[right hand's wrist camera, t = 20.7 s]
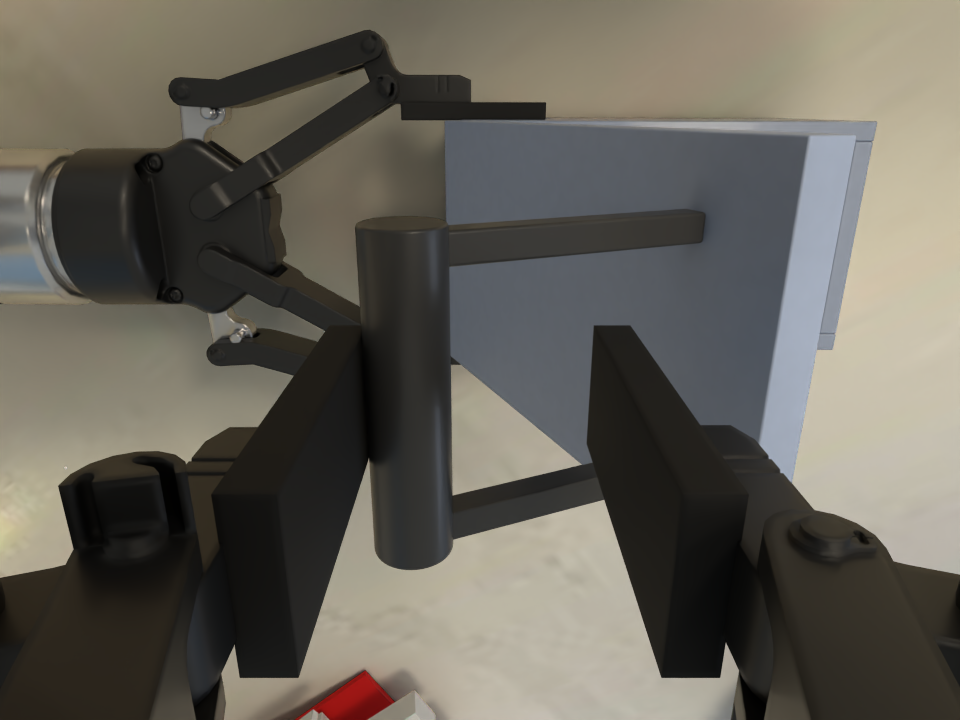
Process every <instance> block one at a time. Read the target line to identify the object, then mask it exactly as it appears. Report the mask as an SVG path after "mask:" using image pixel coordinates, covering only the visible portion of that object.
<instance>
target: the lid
mask: <svg viewBox="0 0 960 720" xmlns="http://www.w3.org/2000/svg"><path fill="white" fill-rule="evenodd" d="M855 141H856V135H854V134H832V133H805V132H777V131H749V130H722V129H694V128H667V127H639V126H611V125H584V124H556V123H529V122H501V121H473V120H455V121H445V178H446V221H444V220H441V219H437V218H430V217H418V216H394V217H380V218H372V219H367V220H363V221H361V222H358V223H357V224H356V226H355V233H356V249H357V265H358V282H359V298H360V315H361V331H362V347H363V364H364V380H365V397H366V413H367V429H368V446H369V462H370V479H371V495H372V511H373V528H374V544H375V552H376V554H377V556H378V557H379V559H380V560H381V561H382V562H384V563H385V564H387V565H389V566H391V567H394V568H398V569H403V570H418V569H424V568H428V567H431V566H434V565H436V564H438V563H440V562H441V561H443V560H444V559H445V558H446V557H447V556H448V555H449V554H450V552H451V550H452V547H453V539H457V538H461V537H465V536H468V535H472V534H476V533H480V532H484V531H487V530H491V529H495V528H499V527H502V526H506V525H510V524H514V523H518V522H521V521H525V520H529V519H533V518H536V517H540V516H544V515H548V514H552V513H555V512H559V511H563V510H567V509H570V508H574V507H578V506H582V505H586V504H589V503H593V502H597V501H601V500H604V497H603V494H602V490H601V487H600V484H599V481H598V478H597V475H596V472H595V469H594V465H593V462H592V459H591V456H590V453H589V450H588V447H587V427H588V411H589V394H590V378H591V361H592V345H593V328H594V325H630V326H631V327H632V328H633V330H634V331H635V333H636V334H637V336H638V337H639V338H640V340H641V341H642V343H643V344H644V345H645V347H646V348H647V350H648V351H649V353H650V354H651V355H652V357H653V358H654V360H655V361H656V363H657V364H658V365H659V367H660V368H661V370H662V371H663V373H664V374H665V375H666V377H667V378H668V380H669V381H670V383H671V384H672V385H673V387H674V388H675V390H676V391H677V392H678V394H679V395H680V397H681V398H682V400H683V401H684V402H685V404H686V405H687V407H688V408H689V410H690V411H691V412H692V414H693V415H694V417H695V418H696V420H697V421H698V422H699V424H700V425H731V426H733V427H735V428H736V429H738V430H740V431H742V432H743V433H745V434H747V435H748V436H750V437H752V438H754V439H755V440H756V441H757V442H758V444H759V445H760V446H761V447H762V448H763V450H764V451H765V452H766V453H767V454H768V456H769V459H772V460H773V461H774V463H775V464H776V465H777V466H778V467H779V469H780V473H784V475H785V476H786V477H787V478H788V479H789V481H790V482H791V483H792V479H793V474H794V469H795V463H796V458H797V452H798V447H799V442H800V436H801V431H802V426H803V420H804V415H805V409H806V404H807V399H808V393H809V388H810V383H811V377H812V372H813V366H814V361H815V356H816V350H817V345H818V340H819V334H820V329H821V323H822V318H823V313H824V307H825V302H826V297H827V291H828V286H829V280H830V275H831V270H832V264H833V259H834V254H835V248H836V243H837V237H838V232H839V227H840V221H841V216H842V211H843V205H844V200H845V194H846V189H847V184H848V178H849V173H850V168H851V162H852V157H853V151H854V146H855ZM451 357H453V358H454V359H455V360H456V361H457V362H459V363H460V364H461V365H462V366H463V367H465V368H466V369H467V370H468V371H469V372H471V373H472V374H473V375H474V376H476V377H477V378H478V379H479V380H480V381H482V382H483V383H484V384H485V385H486V386H488V387H489V388H490V389H491V390H492V391H494V392H495V393H496V394H497V395H499V396H500V397H501V398H502V399H503V400H505V401H506V402H507V403H508V404H509V405H511V406H512V407H513V408H514V409H515V410H517V411H518V412H519V413H520V414H522V415H523V416H524V417H525V418H526V419H528V420H529V421H530V422H531V423H532V424H534V425H535V426H536V427H537V428H538V429H540V430H541V431H542V432H543V433H544V434H546V435H547V436H548V437H549V438H551V439H552V440H553V441H554V442H555V443H557V444H558V445H559V446H560V447H561V448H563V449H564V450H565V451H566V452H567V453H569V454H570V455H571V456H572V457H574V458H575V459H576V460H577V461H578V462H580V463H581V464H582V465H580V466H576V467H571V468H567V469H563V470H559V471H555V472H550V473H546V474H542V475H538V476H533V477H529V478H525V479H521V480H517V481H512V482H508V483H504V484H500V485H495V486H491V487H487V488H483V489H479V490H474V491H470V492H466V493H462V494H458V495H453V496H452V423H451Z"/></svg>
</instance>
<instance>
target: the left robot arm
mask: <svg viewBox="0 0 960 720" xmlns="http://www.w3.org/2000/svg"><path fill="white" fill-rule="evenodd" d="M364 68H365V70H366V73H367V75H368V78H369V81H370V82H369V83H368V84H366V85H365V86H363V87H362V88H360V89H358V90H357V91H355V92H354V93H352V94H351V95H349V96H348V97H346V98H345V99H343V100H342V101H340V102H339V103H337V104H336V105H334V106H333V107H331V108H330V109H328V110H327V111H325V112H323V113H322V114H320V115H319V116H317V117H316V118H314V119H313V120H311V121H310V122H308V123H307V124H305V125H304V126H302V127H301V128H299V129H298V130H296V131H295V132H293V133H292V134H290V135H288V136H287V137H285V138H284V139H282V140H281V141H279V142H278V143H276V144H275V145H273V146H272V147H270V148H269V149H267V150H265V151H263V152H261V153H259V154H258V155H256V156H254V157H253V158H251V159H250V160H248V161H247V162H245V163H244V162H242V161H241V160H240V159H238V158H237V157H235V156H234V155H232V154H231V153H229V152H228V151H227V150H225V149H224V148H222V147H221V146H219V145H218V144H216V143H215V142H213V141H212V140H211V134H212V131H213V130H214V129H215V128H216V127H218V126H222V125H225V124H227V123H228V122H229V121H230V119H231V116H232V110H231V108H242V107H248V106H252V105H256V104H259V103H262V102H265V101H268V100H271V99H274V98H277V97H280V96H283V95H286V94H289V93H292V92H295V91H298V90H301V89H304V88H307V87H310V86H313V85H316V84H319V83H322V82H325V81H328V80H331V79H334V78H337V77H340V76H343V75H346V74H349V73H352V72H355V71H358V70H361V69H364ZM168 92H169V95H170V98H171V99H172V100H173V102H175V103H176V104H177V105H180V113H181V124H182V135H183V140H181V141H179V142H177V143H176V144H174V145H173V146H171V147H168V148H163V149H82V150H80V151H78V152H74V151H71V150H69V149H0V304H64V305H83V304H87V303H90V302H92V301H94V302H96V303H99V304H186V305H190V306H193V307H195V308H197V309H199V310H201V311H203V312H206V313H207V314H208V319H209V324H210V329H211V334H212V339H213V344H212V345H211V346H210V347H209V348H208V350H207V358H208V360H209V361H210V362H211V363H212V364H214V365H216V366H231V365H250V364H254V365H257V366H261V367H265V368H268V369H272V370H276V371H279V372H283V373H287V374H291V375H295V374H296V373H297V371H298V370H299V368H300V367H301V365H302V364H303V363H304V361H305V360H306V358H307V357H308V355H309V354H310V353H311V351H312V350H313V348H314V347H315V345H316V344H317V343H318V342H316V341H313V340H309V339H306V338H302V337H298V336H295V335H291V334H288V333H284V332H280V331H276V330H272V329H263V328H256V325H255V323H254V322H253V321H251V320H249V319H246V318H241V317H239V316H238V315H237V314H235V312H234V311H233V308H232V306H233V305H235V304H236V303H237V302H239V301H240V300H241V299H243V298H244V297H245V296H246V295H248V294H250V295H252V296H253V297H255V298H257V299H259V300H261V301H263V302H265V303H267V304H268V305H271V306H273V307H278V308H283V309H286V310H288V311H289V312H291V313H293V314H295V315H297V316H299V317H301V318H302V319H304V320H306V321H308V322H310V323H312V324H314V325H315V326H317V327H319V328H321V329H323V330H325V331H326V330H327V328H328V327H329V326H330V325H361V315H360V307H359V306H357V305H355V304H354V303H352V302H350V301H348V300H346V299H345V298H343V297H341V296H339V295H337V294H335V293H334V292H332V291H330V290H328V289H326V288H324V287H323V286H321V285H319V284H317V283H315V282H314V281H312V280H310V279H308V278H306V277H305V276H304V275H303V274H302V272H300V271H299V270H298V269H296V268H294V267H292V266H291V265H289V264H287V263H285V262H283V257H285V256H286V245H285V239H284V236H283V233H282V231H281V228H280V218H281V212H282V204H281V194H277V192H276V190H275V188H274V186H273V185H272V184H274V183H275V182H277V181H278V180H280V179H282V178H283V177H285V176H286V175H288V174H289V173H291V172H292V171H293V170H294V169H296V168H297V167H299V166H300V165H302V164H304V163H305V162H307V161H308V160H310V159H311V158H313V157H314V156H316V155H317V154H319V153H321V152H322V151H324V150H325V149H327V148H328V147H330V146H331V145H333V144H334V143H336V142H338V141H339V140H341V139H342V138H344V137H345V136H347V135H348V134H350V133H351V132H353V131H355V130H356V129H358V128H359V127H361V126H362V125H364V124H365V123H367V122H369V121H370V120H372V119H373V118H375V117H376V116H378V115H379V114H381V113H382V112H384V111H386V110H387V109H389V108H390V107H392V106H393V105H395V104H401V119H402V120H545V118H546V102H471V80H470V79H467V78H465V77H463V76H460V75H404V74H401V73H400V72H399V71H398V70H397V69H396V67H395V65H394V62H393V60H392V57H391V54H390V52H389V48H388V44H387V42H386V41H385V40H384V39H383V38H382V37H381V36H380V35H378V34H377V33H376V32H374V31H371V30H364V31H361V32H358V33H355V34H352V35H349V36H346V37H343V38H340V39H337V40H334V41H332V42H329V43H326V44H323V45H320V46H317V47H314V48H311V49H308V50H305V51H302V52H299V53H296V54H293V55H290V56H287V57H284V58H281V59H278V60H275V61H272V62H269V63H266V64H263V65H261V66H258V67H255V68H252V69H249V70H246V71H243V72H240V73H237V74H234V75H231V76H228V77H225V78H222V79H219V80H216V79H200V78H183V77H180V78H175V79H174V80H172V81H171V83H170V84H169V89H168ZM451 364H452V365H461V364H460V363H459V362H457V361H456V360H455V359H454V358H453V357H451Z"/></svg>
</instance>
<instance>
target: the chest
mask: <svg viewBox="0 0 960 720" xmlns="http://www.w3.org/2000/svg"><path fill="white" fill-rule="evenodd" d="M473 121H501V122H529V123H556V124H584V125H611V126H639V127H667V128H694V129H722V130H749V131H777V132H805V133H832V134H854V135H856V141H855V146H854V151H853V157H852V162H851V168H850V173H849V178H848V184H847V189H846V194H845V200H844V205H843V211H842V216H841V221H840V227H839V232H838V237H837V243H836V248H835V254H834V259H833V264H832V270H831V275H830V280H829V286H828V291H827V297H826V302H825V307H824V313H823V318H822V323H821V329H820V334H819V340H818V345H817V350H832V349H833V345H834V340H835V334H834V333H836V329H837V323H838V318H839V313H840V308H841V303H842V298H843V293H844V287H845V282H846V277H847V272H848V267H849V262H850V257H851V251H852V246H853V241H854V236H855V231H856V226H857V221H858V215H859V210H860V205H861V200H862V195H863V190H864V185H865V180H866V174H867V169H868V164H869V159H870V154H871V149H872V142H871V141H873V140H874V135H875V130H876V125H877V122H876V121H843V120H810V119H746V118H545V120H473Z"/></svg>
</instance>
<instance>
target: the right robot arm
mask: <svg viewBox="0 0 960 720" xmlns="http://www.w3.org/2000/svg"><path fill="white" fill-rule="evenodd" d="M587 447H588V450H589V453H590V456H591V459H592V462H593V465H594V469H595V472H596V475H597V478H598V481H599V484H600V487H601V490H602V494H603V497H604V500H605V503H606V506H607V509H608V512H609V515H610V519H611V522H612V525H613V528H614V531H615V534H616V537H617V540H618V543H619V547H620V550H621V553H622V556H623V559H624V562H625V565H626V568H627V572H628V575H629V578H630V581H631V584H632V587H633V590H634V593H635V597H636V600H637V603H638V606H639V609H640V612H641V615H642V618H643V622H644V625H645V628H646V631H647V634H648V637H649V640H650V643H651V647H652V650H653V653H654V656H655V659H656V662H657V665H658V668H659V671H660V675H661V678H720V675H721V669H722V662H723V656H724V650H725V643H727V645H728V647H729V650H730V652H731V654H732V656H733V658H734V660H735V663H736V665H737V667H738V669H739V675H738V681H737V687H736V693H735V699H734V704H733V710H732V716H731V720H960V575H958V574H953V573H948V572H942V571H937V570H932V569H927V568H921V567H916V566H911V565H906V564H902V563H898V562H894V561H893V560H892V558H891V556H890V554H889V552H888V550H887V549H886V547H885V546H884V545H883V544H882V543H881V541H880V540H879V539H878V538H877V537H876V536H875V535H874V534H873V533H871V532H869V531H868V530H866V529H865V528H863V527H862V526H860V525H859V524H857V523H855V522H852V521H850V520H847V519H845V518H842V517H839V516H837V515H834V514H830V513H825V512H820V511H815V510H814V509H813V508H812V507H811V506H810V504H809V503H808V502H807V501H806V500H805V498H804V497H803V496H802V495H801V494H800V493H799V491H798V490H797V489H796V488H795V487H794V485H793V484H792V483H791V482H790V481H789V479H788V478H787V477H786V476H785V475H784V473H780V469H779V467H778V466H777V465H776V464H775V463H774V461H773V460H772V459H769V456H768V454H767V453H766V452H765V451H764V450H763V448H762V447H761V446H760V445H759V444H758V442H757V441H756V440H755V439H754V438H752V437H750V436H748V435H747V434H745V433H743V432H742V431H740V430H738V429H736V428H735V427H733V426H731V425H700V424H699V422H698V421H697V420H696V418H695V417H694V415H693V414H692V412H691V411H690V410H689V408H688V407H687V405H686V404H685V402H684V401H683V400H682V398H681V397H680V395H679V394H678V392H677V391H676V390H675V388H674V387H673V385H672V384H671V383H670V381H669V380H668V378H667V377H666V375H665V374H664V373H663V371H662V370H661V368H660V367H659V365H658V364H657V363H656V361H655V360H654V358H653V357H652V355H651V354H650V353H649V351H648V350H647V348H646V347H645V345H644V344H643V343H642V341H641V340H640V338H639V337H638V336H637V334H636V333H635V331H634V330H633V328H632V327H631V326H630V325H594V328H593V345H592V361H591V378H590V394H589V411H588V427H587ZM368 459H369V446H368V429H367V413H366V397H365V380H364V364H363V347H362V331H361V325H330V326H329V327H328V328H327V330H326V331H325V333H324V334H323V336H322V337H321V338H320V340H319V341H318V343H317V344H316V345H315V347H314V348H313V350H312V351H311V353H310V354H309V355H308V357H307V358H306V360H305V361H304V363H303V364H302V365H301V367H300V368H299V370H298V371H297V373H296V374H295V375H294V377H293V378H292V380H291V381H290V383H289V384H288V385H287V387H286V388H285V390H284V391H283V392H282V394H281V395H280V397H279V398H278V400H277V401H276V402H275V404H274V405H273V407H272V408H271V410H270V411H269V412H268V414H267V415H266V417H265V418H264V420H263V421H262V422H261V424H260V425H259V427H229V428H228V429H226V430H224V431H223V432H221V433H219V434H218V435H216V436H214V437H212V438H211V439H209V440H207V441H206V442H205V443H204V444H203V445H202V446H201V448H200V449H199V450H198V451H197V452H196V454H195V455H194V456H193V457H192V461H191V462H188V463H187V464H186V463H185V461H183V460H182V459H181V458H179V457H178V456H176V455H174V454H169V453H164V452H160V451H148V452H133V453H127V454H121V455H116V456H112V457H109V458H106V459H103V460H100V461H97V462H94V463H91V464H89V465H87V466H85V467H83V468H81V469H79V470H77V471H76V472H74V473H72V474H70V475H69V476H68V477H67V478H66V479H65V480H64V481H63V482H62V483H61V484H60V485H59V486H58V487H59V491H60V495H61V499H62V503H63V507H64V512H65V516H66V520H67V524H68V528H69V532H70V536H71V540H72V544H73V548H74V550H73V552H72V554H71V555H70V557H69V559H68V561H67V563H66V565H63V566H59V567H55V568H50V569H45V570H40V571H34V572H29V573H24V574H18V575H13V576H8V577H3V578H0V720H224V713H225V706H226V701H225V694H224V687H223V681H222V675H221V673H222V670H223V668H224V666H225V664H226V662H227V660H228V657H229V655H230V653H231V651H232V649H233V647H234V644H235V650H236V656H237V662H238V669H239V675H240V678H299V675H300V671H301V668H302V665H303V662H304V659H305V656H306V653H307V650H308V647H309V643H310V640H311V637H312V634H313V631H314V628H315V625H316V622H317V618H318V615H319V612H320V609H321V606H322V603H323V600H324V597H325V593H326V590H327V587H328V584H329V581H330V578H331V575H332V572H333V568H334V565H335V562H336V559H337V556H338V553H339V550H340V547H341V543H342V540H343V537H344V534H345V531H346V528H347V525H348V522H349V519H350V515H351V512H352V509H353V506H354V503H355V500H356V497H357V494H358V490H359V487H360V484H361V481H362V478H363V475H364V472H365V469H366V465H367V462H368Z"/></svg>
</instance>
